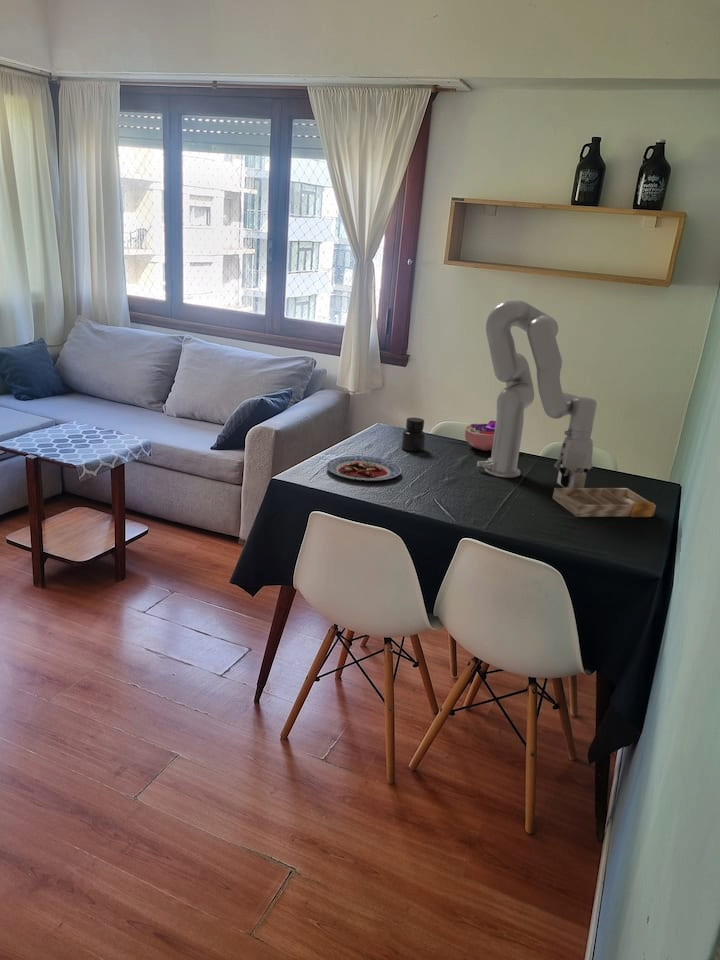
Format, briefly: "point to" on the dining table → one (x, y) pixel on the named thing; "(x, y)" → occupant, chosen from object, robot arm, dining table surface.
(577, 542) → the dining table surface
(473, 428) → the cell model
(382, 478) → the ceramic plate
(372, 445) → the dining table surface
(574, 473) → the grey block
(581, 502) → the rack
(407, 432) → the ink bottle
